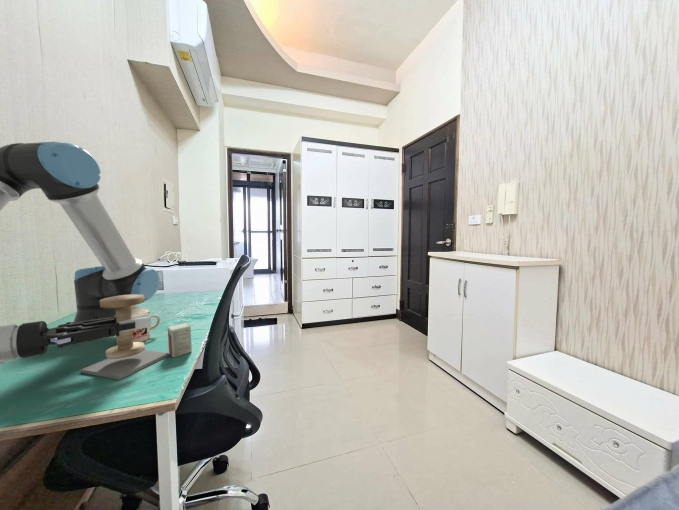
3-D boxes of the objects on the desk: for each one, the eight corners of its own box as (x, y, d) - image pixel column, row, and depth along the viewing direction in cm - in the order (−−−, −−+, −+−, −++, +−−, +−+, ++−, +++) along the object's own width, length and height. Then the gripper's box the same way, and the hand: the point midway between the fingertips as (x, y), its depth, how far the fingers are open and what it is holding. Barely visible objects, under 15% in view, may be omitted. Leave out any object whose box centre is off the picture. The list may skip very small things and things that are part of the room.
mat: (133, 350, 79) (133, 348, 79) (168, 355, 75) (168, 353, 75) (80, 372, 66) (80, 369, 66) (119, 379, 63) (119, 376, 63)
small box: (187, 348, 80) (186, 322, 80) (192, 352, 77) (190, 325, 77) (168, 353, 77) (167, 326, 76) (172, 358, 74) (170, 330, 73)
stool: (130, 343, 76) (127, 293, 75) (155, 347, 73) (152, 295, 72) (94, 357, 67) (90, 300, 66) (120, 361, 65) (117, 302, 64)
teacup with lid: (117, 348, 80) (114, 310, 80) (114, 340, 87) (112, 305, 86) (163, 338, 89) (162, 303, 88) (158, 331, 95) (156, 299, 94)
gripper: (30, 346, 65) (148, 325, 80) (8, 372, 52) (153, 342, 67) (27, 316, 64) (147, 301, 79) (5, 334, 52) (152, 312, 67)
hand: (149, 320), depth 73 cm, fingers closed on stool, 3 cm apart
